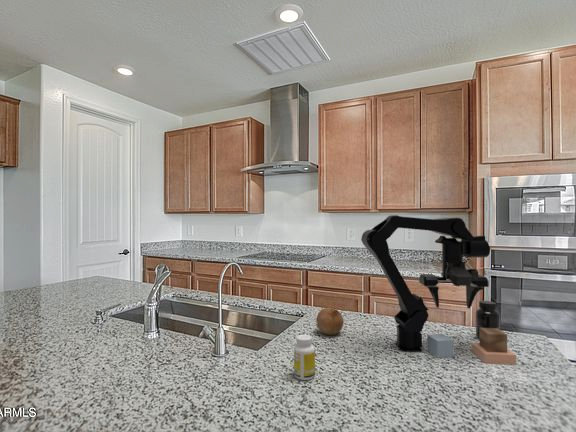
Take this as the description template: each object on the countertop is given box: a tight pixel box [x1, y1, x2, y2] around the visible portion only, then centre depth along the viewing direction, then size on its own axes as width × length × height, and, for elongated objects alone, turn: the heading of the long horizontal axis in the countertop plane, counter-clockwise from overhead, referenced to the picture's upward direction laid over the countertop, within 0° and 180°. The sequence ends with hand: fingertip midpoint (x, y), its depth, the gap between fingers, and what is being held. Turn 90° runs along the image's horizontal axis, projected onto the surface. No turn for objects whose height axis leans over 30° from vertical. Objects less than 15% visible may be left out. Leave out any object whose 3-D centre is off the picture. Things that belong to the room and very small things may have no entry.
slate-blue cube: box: [426, 333, 454, 359], centre depth 94 cm, size 5×5×5 cm
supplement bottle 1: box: [293, 334, 316, 381], centre depth 81 cm, size 5×5×10 cm
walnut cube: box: [478, 328, 508, 353], centre depth 91 cm, size 5×5×5 cm
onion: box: [315, 307, 345, 336], centre depth 111 cm, size 10×9×10 cm
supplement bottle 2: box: [475, 300, 501, 339], centre depth 105 cm, size 7×7×12 cm
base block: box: [471, 342, 518, 366], centre depth 91 cm, size 8×8×3 cm
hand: (453, 307), depth 99 cm, fingers open, 9 cm apart
